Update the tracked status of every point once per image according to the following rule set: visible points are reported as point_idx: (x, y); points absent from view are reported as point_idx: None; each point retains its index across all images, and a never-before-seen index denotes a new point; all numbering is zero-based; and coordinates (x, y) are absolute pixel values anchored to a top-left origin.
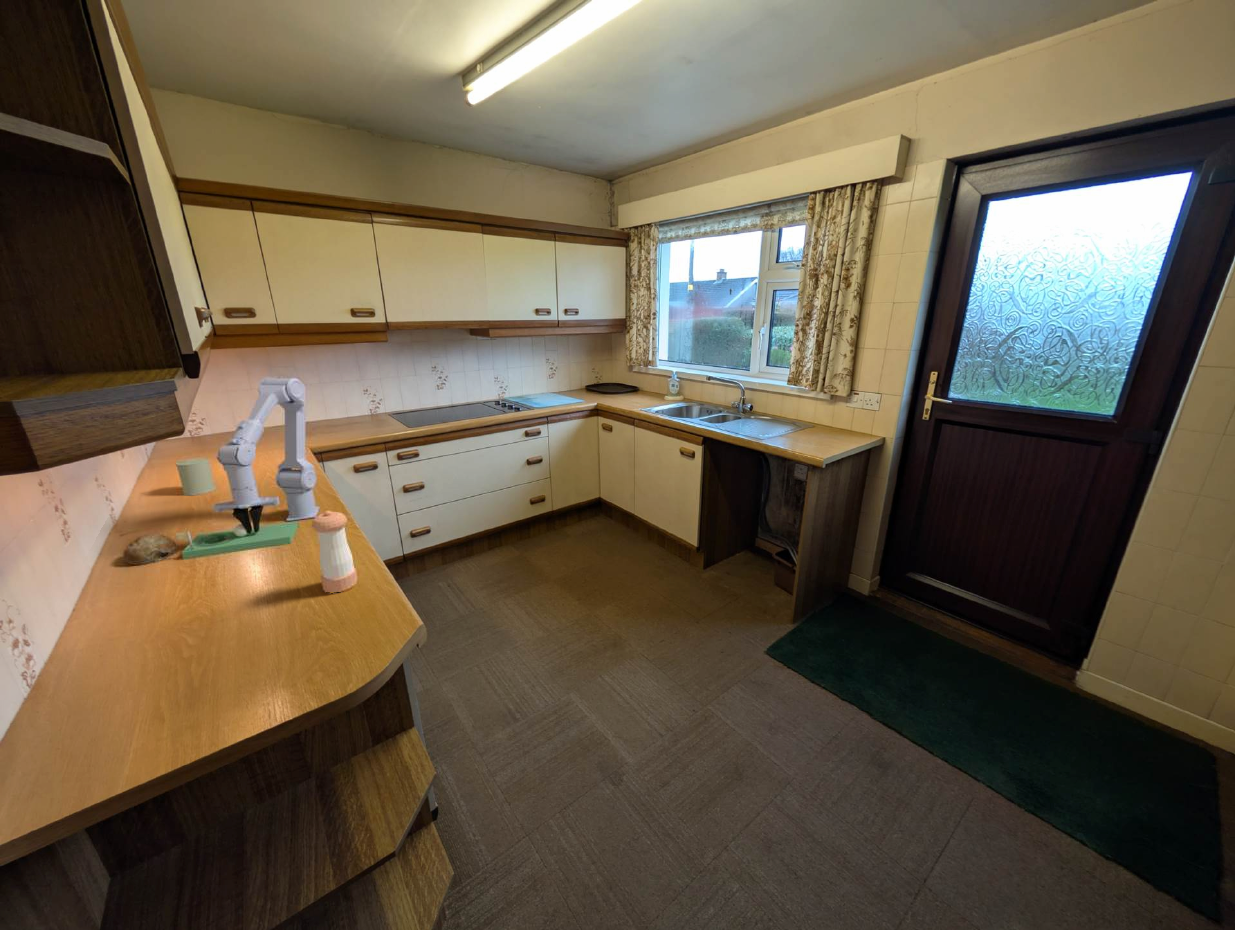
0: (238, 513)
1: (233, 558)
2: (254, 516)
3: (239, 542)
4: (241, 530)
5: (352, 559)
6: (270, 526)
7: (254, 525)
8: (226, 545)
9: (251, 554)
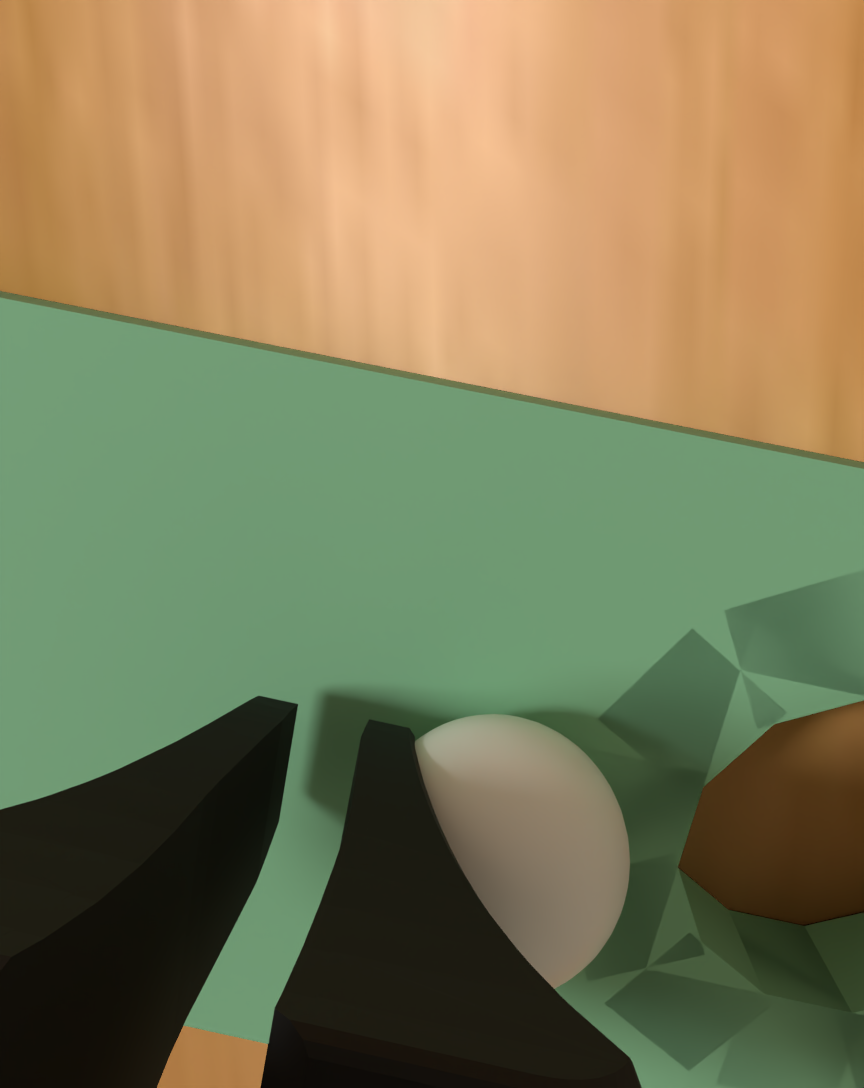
0: (433, 1070)
1: (645, 108)
2: (25, 855)
3: (546, 495)
4: (491, 755)
5: None
6: None
7: (221, 751)
8: (747, 475)
9: (392, 123)
